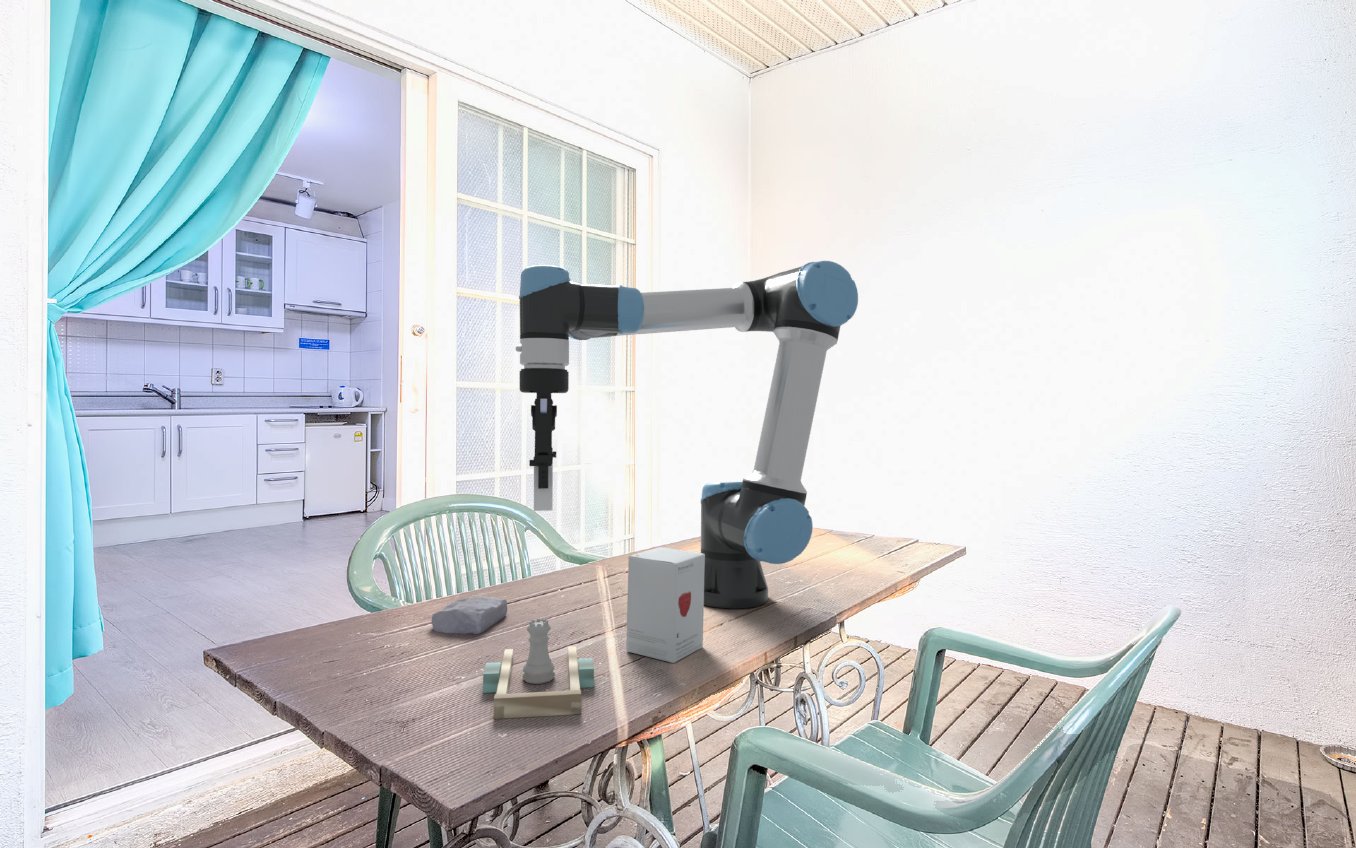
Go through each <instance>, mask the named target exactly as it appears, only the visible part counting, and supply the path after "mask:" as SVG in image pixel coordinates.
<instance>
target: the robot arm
mask: <svg viewBox="0 0 1356 848" xmlns="http://www.w3.org/2000/svg"><path fill="white" fill-rule="evenodd" d="M518 299H519V343H520V344H521V345H520V344H519V345H518V344H517V345H516V346H515V351H516V352H518V353H519V352H520V354H519V364H520V365H521V366H523V367H524V368H521V369H520V370H519V392H521V393H525V394H527V393H528V394H536V397H535V399H534V402H533V403H534V404H530V416H531V418H532V420H531V425H532V430H533V431H534V456H533V459H529V463H528V464H529V465H528V466H529V467H533V511H534V512H536V511H537V512H538V511H539V512H541V511H545V512H548V511H553V500H554V499H553V489H554V488H553V487H554V485H553V484H554V482H553V481H554V479H553V473H554V472H553V469H554V466H553V465H554V464H553V462H554V461H553V459H554V458H555V459H556V458H557V451H553V450H554V449H553V448H554V447H553V441H552V440H553V438H552V437H553V431H555V430H556V417H557V416H558V405H557V404H554V400H553V399H552V394H567V393H568V391H569V387H570V386H569V382H570V381H569V379H570V377H569V371H568V369H566V367H567V366H569V365H570V339H573V340H576V341H587V340H590V339H596V338H597V339H598V338H608V337H609V338H610V337H611V338H612V337H618V336H619V337H620V336H630V335H632V336H634V335H646V334H660V333H672V332H673V333H674V332H689V331H697V330H698V331H700V330H713V329H715V330H716V329H727V328H735V330H736V331H738V332H741V333H745V332H746V333H748V332H767V333H769V332H770V333H771V332H772V333H773V334H774V335H775V337H776V338H777V340H778V343H779V344H778V349H777V353H776V359H775V364H774V368H773V375H772V377H771V378H772V379H771V384H770V389H769V393H768V398H767V402H766V408H765V412H764V416H763V417H764V418H763V422H762V427H761V431H760V432H761V433H760V437H759V442H758V446H757V451H756V455H755V457H756V458H755V462H754V467H753V470H752V471H751V472H750V473H748V474H747V475H745V476H744V477H743V478H742V481H728V482H727V481H726V482H725V481H724V482H708V483H706V484H704V486H703V487H702V490H701V499H700V506H701V507H700V508H701V509H700V510H701V512H700V553H703V554H705V568H704V606H707V607H712V608H719V609H751V608H756V607H759V606H762V605H764V604H766V603H767V602H768V600H769V587H768V584H767V583H768V582H767V580H766V577H765V573H764V571H763V570H764V569H763V566H762V564H761V563H762V562H764V563H768V564H772V565H782V564H786V563H789V562H791V561H794V560H795V558H797V557H798V556H800V555H801V554H802V553H803V552H804V551H805V549H806V548H807V546H808V544H810V540H811V539H812V534H813V519H812V516H811V515H810V511H809V510H808V508H807V507H806V506H805V505H806V499H807V495H808V491H807V489H806V488H805V486H804V485H803V482H802V481H801V480H802V476H803V471H804V465H805V461H806V456H807V450H808V446H809V442H810V437H811V436H810V435H811V432H812V427H813V423H814V422H813V421H814V416H815V411H816V407H817V402H818V396H819V392H820V386H821V380H822V376H823V372H824V366H825V361H826V357H827V352H828V351H829V349H832V348H833V347H834V346H835V345H837V344H838V340H839V336H840V330H841V326H843V325H845V324H846V323H848V322H849V320H851V319H852V318H853V317H854V315H855V313H856V312H857V308H858V304H859V293H858V287H857V284H856V282H855V280H854V279H853V278H852V276H851V274H850V272H849V271H848V270H847V269H846V268H845V267H844V266H842V265H841V264H839V263H837V262H834V261H831V260H820V261H811V262H808V263H805V264H804V265H802V266H799V267H795V268H791V269H788V270H783V271H782V272H777V273H775V274H772V275H769V276H767V277H763V278H759V279H756V280H750V281H739V282H736V283H735V284H734V285H733V286H732V287H727V288H723V287H722V288H703V289H689V290H687V289H686V290H685V289H684V290H670V291H668V290H667V291H666V290H665V291H649V292H641V291H640V290H639V289H638V288H636V287H630V286H629V287H628V286H624V285H621V284H620V285H610V284H609V285H605V284H591V283H579V282H573V281H571V278H570V272H569V271H568V270H567V269H566V268H564V267H561V266H555V265H549V264H548V265H545V264H544V265H543V264H542V265H541V264H539V265H530V266H527V267H525V268H524V269H523V270H522V271H521V274H520V285H519V296H518ZM569 338H570V339H569Z"/></svg>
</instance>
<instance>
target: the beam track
mask: <svg viewBox="0 0 1356 848" xmlns="http://www.w3.org/2000/svg"><path fill="white" fill-rule="evenodd" d="M503 652H504V653H503V659H502V661H497V662H486V663H485V665H484V669H483V673H482V693H483V694H487V693H488V694H489V693H495V694H494V696H493V720H500V719H501V720H502V719H517V718H535V717H551V716H567V715H568V716H569V715H570V716H571V715H582V690H581V688H582V689H585V688H594V687H595V686H594V684H595V683H594V681H595V679H594V678H595V668H594V667H595V666H594V659H593V657H590V658H589V657H585V658H578V654H577V646H575V645H574V646H573V645H572V646H571V645H570V646H567V665H568V669H567V670H568V683H569V686H568V687H569V690H556V691H555V690H554V691H553V690H552V691H551V690H550V691H537V692H535V691H534V692H519V693H518V692H517V693H515V692H514V693H509V688H510V682H511V681H510V680H511V675H512V670H513V669H512V668H513V662H514V649H513V648H506V649H504V651H503Z"/></svg>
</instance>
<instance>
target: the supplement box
mask: <svg viewBox="0 0 1356 848" xmlns="http://www.w3.org/2000/svg"><path fill="white" fill-rule="evenodd" d="M627 563H628V565H627V567H628V570H627V571H628V572H627V606H626V607H627V611H626V639H625V640H626V646H625V651H626V653H627V652H628V653H633V654H635V655H641V656H643V657H648V658H651V659H656V660H660V661H665V662H666V663H667V662H668V663H671V664H675V663H677V662H678V661H680V660H682V659H683V658H686V657H687V656H689V655H691V654H693V653H694V652H696V651H698V650H700V649H702V648H703V646H704V642H703V641H704V612H705V611H704V610H705V609H704V606H705V605H704V568H705V554H703V553H701V552H697V551H690V550H689V551H687V550H680V549H675V548H669V547H662V546H659V547H656V548H652V549H649V550H643V551H642V552H641V551H640V552H639V553H635V554H632V555H629V556H628V562H627Z"/></svg>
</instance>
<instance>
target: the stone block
mask: <svg viewBox="0 0 1356 848" xmlns="http://www.w3.org/2000/svg"><path fill="white" fill-rule="evenodd" d="M507 613H508V600H507V599H506V598H498V597H492V596H485V595H477V596H476V595H475V596H472V597H466V598H460V599H458V600H455V601H454V602H452V603H449V604H447V605H446V606H445V607H444V608H443V609H442V610H439V611H437V612H435V613H432V615H431V626H432V628H433V630H434V632H438V633H442V634H443V633H445V634H464V635H469V634H471V635H481V634H482V633H483V632H486V630H488V629H489V628H491V627H492V626H493V625H495V624H497V623H498V622H499V621H501V620H502V619H504V618H505V617H506V615H507Z"/></svg>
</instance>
